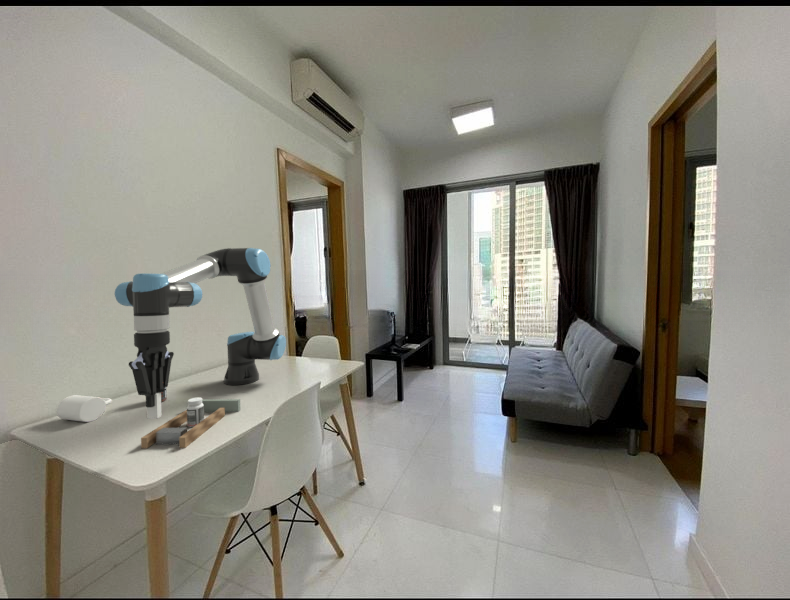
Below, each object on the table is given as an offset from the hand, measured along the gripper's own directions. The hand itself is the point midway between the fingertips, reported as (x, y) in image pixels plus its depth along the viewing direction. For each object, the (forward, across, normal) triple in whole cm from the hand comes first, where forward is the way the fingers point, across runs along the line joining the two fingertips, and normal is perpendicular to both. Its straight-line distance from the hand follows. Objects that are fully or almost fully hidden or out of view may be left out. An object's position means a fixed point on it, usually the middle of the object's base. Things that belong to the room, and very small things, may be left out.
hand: (154, 417), depth 82 cm
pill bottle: (+10, -18, 0) cm, 21 cm away
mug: (+10, -24, -41) cm, 49 cm away
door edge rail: (+10, -28, 0) cm, 30 cm away
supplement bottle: (+10, -38, -28) cm, 49 cm away
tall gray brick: (+10, -6, 0) cm, 12 cm away
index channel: (+10, -13, 0) cm, 17 cm away
